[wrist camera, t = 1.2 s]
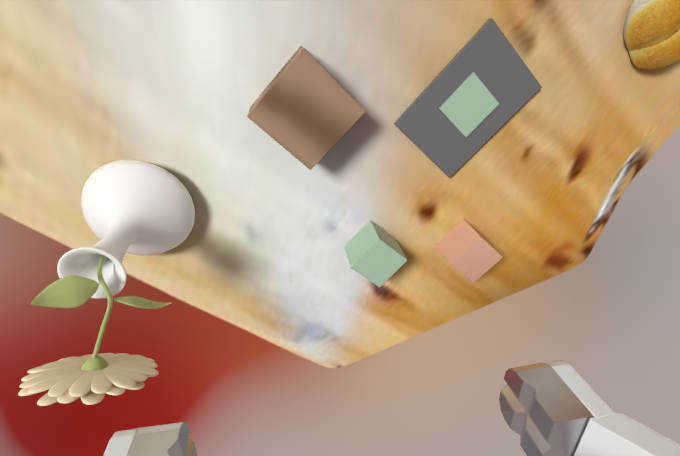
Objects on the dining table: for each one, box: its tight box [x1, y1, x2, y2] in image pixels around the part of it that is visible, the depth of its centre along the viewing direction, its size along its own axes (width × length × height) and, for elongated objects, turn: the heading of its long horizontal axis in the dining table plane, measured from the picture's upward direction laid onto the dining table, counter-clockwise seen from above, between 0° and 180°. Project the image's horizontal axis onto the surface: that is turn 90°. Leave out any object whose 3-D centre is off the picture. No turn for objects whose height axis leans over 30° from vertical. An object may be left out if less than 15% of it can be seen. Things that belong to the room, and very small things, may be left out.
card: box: [394, 19, 541, 178], centre depth 42 cm, size 14×10×1 cm
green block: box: [344, 220, 407, 287], centre depth 47 cm, size 5×5×5 cm
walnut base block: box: [247, 46, 365, 170], centre depth 37 cm, size 8×8×5 cm
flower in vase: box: [18, 160, 195, 406], centre depth 31 cm, size 13×11×25 cm
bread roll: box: [623, 0, 680, 70], centre depth 39 cm, size 8×9×4 cm
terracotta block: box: [436, 219, 503, 283], centre depth 49 cm, size 5×5×5 cm
